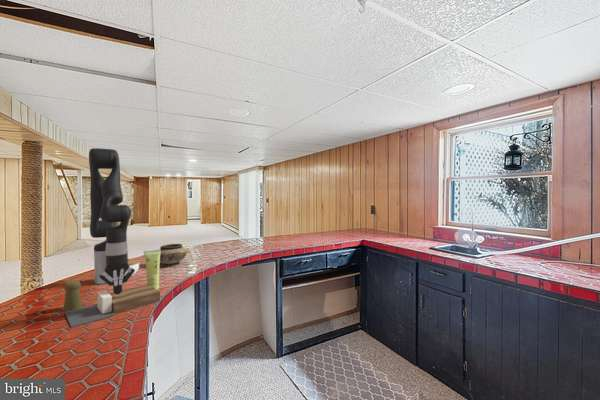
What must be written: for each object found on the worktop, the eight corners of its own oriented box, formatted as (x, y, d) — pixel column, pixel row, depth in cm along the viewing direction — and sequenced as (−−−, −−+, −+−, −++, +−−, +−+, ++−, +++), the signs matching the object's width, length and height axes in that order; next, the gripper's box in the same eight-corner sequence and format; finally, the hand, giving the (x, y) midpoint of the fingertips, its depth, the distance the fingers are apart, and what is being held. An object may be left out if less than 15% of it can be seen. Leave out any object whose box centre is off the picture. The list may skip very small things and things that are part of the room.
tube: (150, 292, 126) (149, 252, 126) (144, 290, 129) (143, 250, 128) (161, 288, 131) (160, 249, 131) (155, 286, 134) (154, 248, 133)
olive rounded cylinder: (67, 306, 111) (66, 280, 111) (84, 303, 113) (84, 278, 113) (60, 312, 105) (59, 285, 105) (78, 309, 107) (78, 283, 107)
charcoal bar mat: (64, 313, 104) (64, 312, 104) (104, 303, 114) (104, 302, 114) (71, 327, 93) (71, 326, 93) (115, 315, 103) (115, 314, 103)
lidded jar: (113, 275, 151) (113, 259, 151) (132, 271, 161) (132, 255, 161) (124, 278, 146) (124, 262, 146) (143, 273, 156) (143, 257, 156)
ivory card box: (106, 305, 111) (97, 307, 109) (106, 290, 111) (97, 292, 109) (111, 311, 105) (102, 313, 103) (111, 296, 105) (102, 298, 103)
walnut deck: (105, 304, 113) (105, 294, 113) (148, 292, 126) (148, 284, 125) (114, 314, 104) (113, 304, 103) (160, 300, 116) (159, 292, 116)
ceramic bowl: (194, 265, 182) (196, 243, 185) (182, 266, 165) (185, 242, 168) (159, 265, 182) (161, 244, 186) (144, 266, 165) (147, 242, 168)
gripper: (132, 248, 117) (132, 287, 118) (95, 254, 107) (96, 296, 108) (137, 251, 112) (138, 291, 113) (99, 257, 102) (100, 301, 103)
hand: (117, 293), depth 110 cm, fingers closed
